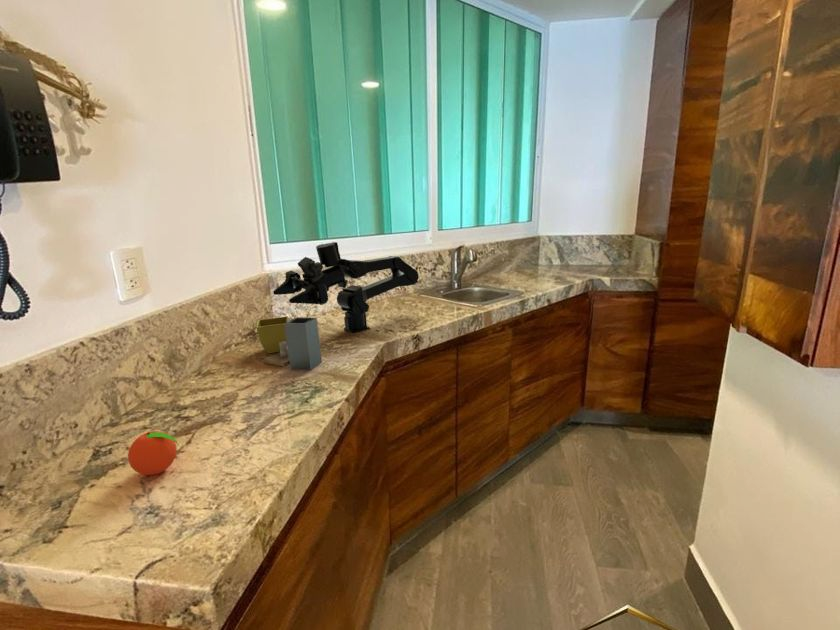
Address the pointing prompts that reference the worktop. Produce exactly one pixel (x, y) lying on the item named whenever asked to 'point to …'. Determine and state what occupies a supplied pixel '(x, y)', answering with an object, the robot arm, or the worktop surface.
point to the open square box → (303, 343)
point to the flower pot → (272, 333)
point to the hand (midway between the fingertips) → (281, 297)
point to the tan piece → (279, 356)
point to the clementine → (152, 453)
